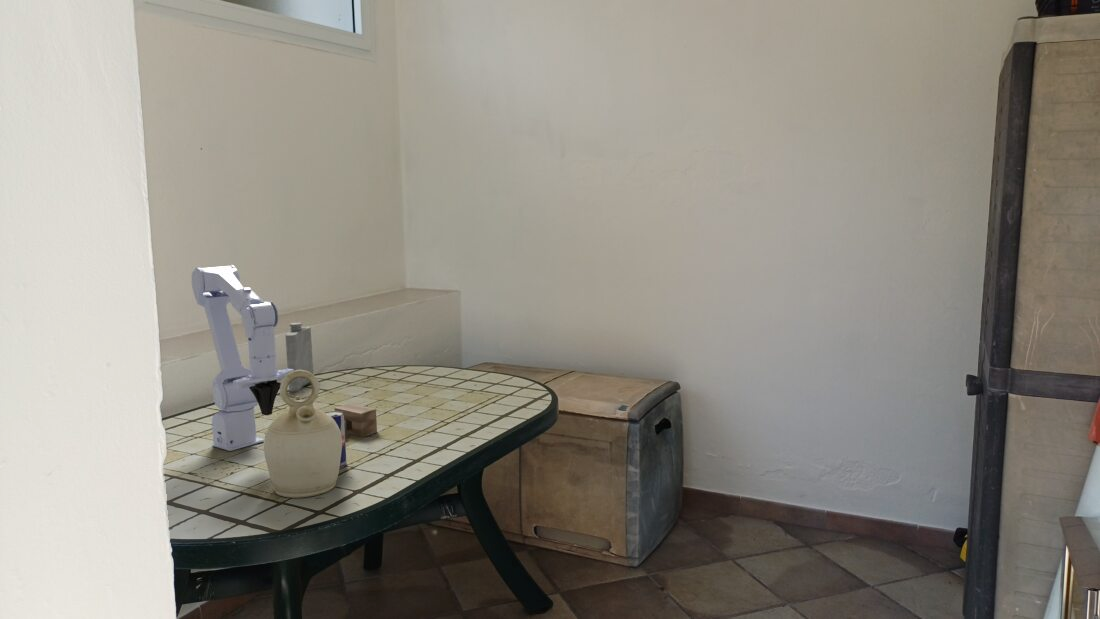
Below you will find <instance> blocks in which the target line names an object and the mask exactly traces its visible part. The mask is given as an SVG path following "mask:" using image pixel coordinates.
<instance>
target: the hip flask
mask: <svg viewBox="0 0 1100 619" xmlns="http://www.w3.org/2000/svg"><path fill="white" fill-rule="evenodd" d="M302 324H303V323H302V322H290V323H289V327H290V331H289V332H286V334H285V337H284V338H285V348H286V351H285V352H286V364H287V365H286V367H287V369H293V370H294V371H295V370H306V371H308V372H310V373H312V374H313V375H314V362H313V360H314V359H313V348H312V347H313V346H312V331H311V330H312V328H311V326H303V325H302ZM309 383H311V382H310V381H309V380H308V379H306V378H303V377H299V378H296V379H294V380H292V381H291V382H290V383H289V385H288V391H289V392H299V391H300V390H301V389H302V388H303V387H304V386H306V385H308V384H309Z"/></svg>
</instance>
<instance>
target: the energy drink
mask: <svg viewBox="0 0 1100 619" xmlns="http://www.w3.org/2000/svg"><path fill="white" fill-rule="evenodd" d="M323 412H324V413H326V414H327V415H329V416H330V417H332V418H333V419H334V420H335V422H336V424H337V425H338V427H339V429H340V432H341V436H342V451H341V459H340V467H339V470H340V469H343V468H345V467H346V465H347V462H348V461H347V449H346V446H347V445H346V438H345V427H344V416H343V413H342V412H340V411H335V410H329V411H323ZM344 466H345V467H344Z"/></svg>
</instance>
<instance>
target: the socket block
mask: <svg viewBox="0 0 1100 619" xmlns="http://www.w3.org/2000/svg"><path fill="white" fill-rule="evenodd" d="M334 411H340V412H342V413H343V416H344V421H346V427H347V435H348V434H349V435H350V436H351V435H353V436H355V437H359V438H363V437H367V436H369V435H372V434H376V433H377V432H378V423H377V409H376V408H374V407H373V408H372V407H367V406H364V405H363V406H362V405H359V404H353V403H347V404H344V405H340V406H336V407H334Z"/></svg>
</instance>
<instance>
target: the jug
mask: <svg viewBox="0 0 1100 619" xmlns="http://www.w3.org/2000/svg"><path fill="white" fill-rule="evenodd" d="M299 377H303V378H306V379H308V380H309V381H310V382H309V383H310V384H311V388H312V389H311V392H310V394H309V395H308V396H307V397H306V398H304V399H303V398H302V397H301V396H300V395H296V396H295V397H294V399H293V398H292V397H290V396H289V394H288V389H289V383H290V382H291V381H292V380H294V379H296V378H299ZM319 395H320V383H319V380H318V379H317V377H316V376H315V375H314V373H313V374H312V373H310V372H308V371H306V370H295V371H293V372H290V373H289V374H288V375H286V376H285V377H284V379H282V380H281V382H280V389H279V396H280V398H281V400H282V401H283V402H284V403H285V404H286V405H287V406H288V407H289V408H288V411H286V412H284V413H282V414H280V415H278V417H277V418H275V419H274V420H273V421H272V422H271V423H270V424H269V426H267V427H268V428H267V431H266V432H265V436H264V438H263V439H264V441H263V454H264V460H265V462H266V467H267V470H268V474H269V477H270V481H271V484H272V486H273V489H274V492H275V494H277V495H278V496H280V497H285V498H290V499H303V498H308V497H316V496H319V495H322V494H326V493H328V492H330V491H331V490H333V489H334V488H335V487H336V485H337V481H338V476H339V473H340V469H339V467H340V459H341V451H342V436H341V432H340V429H339V427H338V425H337V424H336V422H335V420H334V419H333V418H332V417H330V416H329V415H327V414H326V413H324V412H325V411H322V410H320V409H317V408H315V407H314V405H313V404H314V402H315V401H316V400H317V399H318V397H319Z"/></svg>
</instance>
